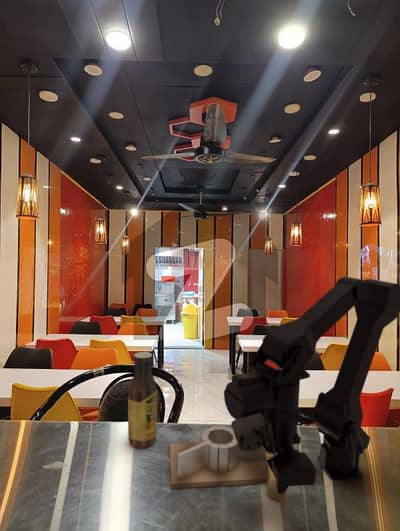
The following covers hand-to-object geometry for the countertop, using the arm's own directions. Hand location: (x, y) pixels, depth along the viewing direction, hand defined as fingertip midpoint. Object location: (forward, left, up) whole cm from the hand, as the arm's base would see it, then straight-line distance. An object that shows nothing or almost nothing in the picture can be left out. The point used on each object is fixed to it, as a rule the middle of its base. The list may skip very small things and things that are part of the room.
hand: (277, 484), depth 65 cm
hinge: (+8, -8, -1) cm, 12 cm away
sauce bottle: (+25, -18, -2) cm, 31 cm away
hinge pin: (0, 0, -2) cm, 2 cm away
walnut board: (+9, -9, -2) cm, 13 cm away
